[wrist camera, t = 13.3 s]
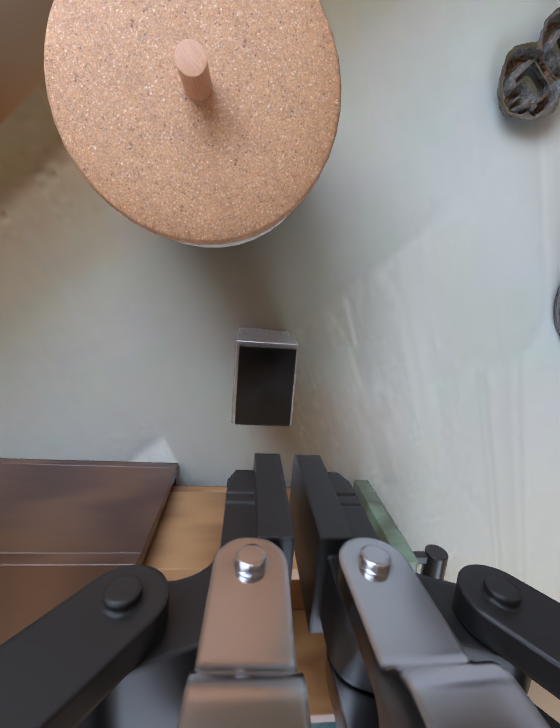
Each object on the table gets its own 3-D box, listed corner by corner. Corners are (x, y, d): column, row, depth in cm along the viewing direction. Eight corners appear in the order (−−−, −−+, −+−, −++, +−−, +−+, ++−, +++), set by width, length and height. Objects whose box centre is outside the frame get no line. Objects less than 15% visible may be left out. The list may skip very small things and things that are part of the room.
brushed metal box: (286, 330, 26) (300, 345, 19) (280, 392, 27) (292, 430, 20) (239, 326, 26) (235, 341, 19) (235, 390, 27) (231, 427, 20)
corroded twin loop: (601, 60, 24) (617, 50, 23) (513, 145, 25) (525, 139, 24) (565, -5, 23) (580, -19, 22) (474, 85, 24) (484, 76, 23)
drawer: (424, 481, 29) (497, 560, 21) (400, 610, 32) (456, 727, 23) (141, 474, 27) (90, 561, 18) (141, 615, 30) (98, 747, 21)
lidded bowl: (223, 10, 22) (198, -267, 11) (343, 179, 24) (418, 92, 14) (80, 148, 22) (-74, 17, 12) (212, 296, 25) (184, 300, 14)
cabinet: (178, 462, 28) (137, 564, 17) (175, 610, 31) (138, 772, 20) (-87, 455, 26) (-312, 566, 15) (-63, 614, 29) (-237, 796, 18)
